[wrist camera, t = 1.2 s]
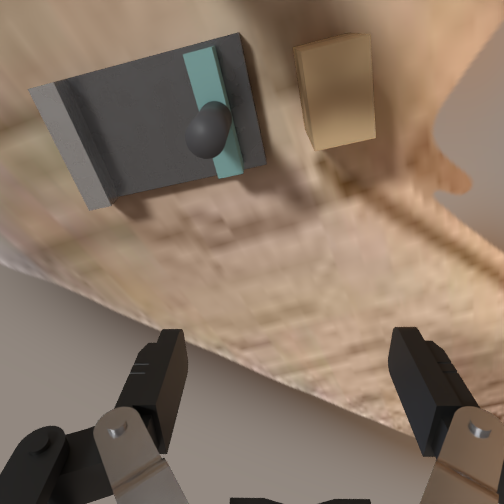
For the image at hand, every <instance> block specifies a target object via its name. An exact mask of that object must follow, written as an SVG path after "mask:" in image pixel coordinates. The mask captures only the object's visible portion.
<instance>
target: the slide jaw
mask: <svg viewBox="0 0 504 504" xmlns="http://www.w3.org/2000/svg"><path fill="white" fill-rule="evenodd" d="M183 58H184V61H185V65H186V68H187V71H188V75H189V78H190V82H191V85H192V89H193V92H194V96H195V99H196V103H197V106H198V109H199V112H198V113H197V115H196V116H195V117H194V119H193V120H192V121H191V123H190V124H189V125H188V127H187V129H186V132H185V141H186V145H187V147H188V149H189V150H190V151H191V152H192V153H193V154H194V155H195V156H197V157H199V158H203V159H211V158H213V161H214V165H215V168H216V172H217V175H218V179H220V178H225V177H229V176H234V175H239V174H243V172H244V162H243V158H242V154H241V150H240V146H239V142H238V138H237V134H236V130H235V125H234V121H233V117H232V113H231V109H230V105H229V101H228V97H227V93H226V89H225V85H224V81H223V77H222V73H221V69H220V65H219V60H218V56H217V52H216V48H215V46H212V47H208V48H204V49H201V50H197V51H193V52H189V53H186V54H183Z"/></svg>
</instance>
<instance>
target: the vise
mask: <svg viewBox="0 0 504 504" xmlns="http://www.w3.org/2000/svg"><path fill="white" fill-rule="evenodd" d="M212 46H215V48H216V52H217V56H218V60H219V65H220V69H221V73H222V77H223V81H224V85H225V89H226V93H227V97H228V101H229V105H230V109H231V113H232V117H233V121H234V125H235V130H236V134H237V138H238V142H239V146H240V150H241V154H242V158H243V162H244V169H247V168H252V167H257V166H261V165H266V164H267V161H266V156H265V151H264V146H263V141H262V137H261V132H260V127H259V123H258V118H257V113H256V108H255V104H254V99H253V94H252V90H251V85H250V80H249V75H248V71H247V66H246V61H245V57H244V52H243V47H242V42H241V38H240V33H239V32H238V33H235V34H231V35H227V36H224V37H220V38H216V39H212V40H209V41H205V42H201V43H198V44H194V45H190V46H187V47H183V48H179V49H175V50H172V51H168V52H164V53H161V54H157V55H153V56H149V57H146V58H142V59H138V60H135V61H131V62H127V63H124V64H120V65H116V66H112V67H109V68H105V69H101V70H98V71H94V72H90V73H87V74H83V75H79V76H75V77H72V78H68V79H64V80H60V81H56V82H53V83H49V84H45V85H41V86H38V87H34V88H30V89H28V91H29V93H30V95H31V97H32V99H33V101H34V102H35V104H36V106H37V108H38V110H39V112H40V114H41V116H42V118H43V120H44V122H45V124H46V126H47V128H48V130H49V132H50V134H51V136H52V138H53V140H54V142H55V144H56V146H57V148H58V150H59V152H60V154H61V156H62V158H63V160H64V162H65V164H66V166H67V168H68V170H69V172H70V174H71V176H72V178H73V180H74V181H75V183H76V185H77V187H78V189H79V191H80V193H81V195H82V197H83V199H84V201H85V203H86V205H87V207H88V209H89V211H90V210H94V209H99V208H104V207H108V206H112V204H113V203H114V202H115V201H116V200H117V199H118V197H119V196H124V195H128V194H133V193H137V192H142V191H147V190H151V189H156V188H160V187H165V186H169V185H174V184H179V183H183V182H188V181H192V180H197V179H202V178H206V177H211V176H215V175H217V172H216V168H215V165H214V161H213V158H211V159H203V158H199V157H197V156H195V155H194V154H193V153H192V152H191V151H190V150H189V149H188V147H187V145H186V141H185V132H186V129H187V127H188V125H189V124H190V123H191V121H192V120H193V119H194V117H195V116H196V115H197V113H198V112H199V109H198V106H197V103H196V99H195V96H194V92H193V89H192V85H191V82H190V78H189V75H188V71H187V68H186V65H185V61H184V58H183V54H186V53H189V52H193V51H197V50H201V49H204V48H208V47H212Z"/></svg>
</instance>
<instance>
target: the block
mask: <svg viewBox="0 0 504 504" xmlns="http://www.w3.org/2000/svg"><path fill="white" fill-rule="evenodd" d="M293 53H294V59H295V66H296V73H297V79H298V86H299V93H300V99H301V106H302V113H303V119H304V126H305V130H306V133H307V135H308V137H309V139H310V141H311V144H312V146H313V148H314V150H315V151H319V150H324V149H328V148H333V147H337V146H342V145H347V144H351V143H356V142H360V141H365V140H369V139H374V138H376V131H375V112H374V93H373V74H372V55H371V35H370V34H356V33H346V34H342V35H339V36H335V37H331V38H327V39H323V40H319V41H315V42H312V43H308V44H304V45H300V46H296V47H293Z"/></svg>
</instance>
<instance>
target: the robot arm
mask: <svg viewBox="0 0 504 504" xmlns="http://www.w3.org/2000/svg"><path fill="white" fill-rule="evenodd" d="M388 367H389V372H390V376H391V378H392V381H393V383H394V386H395V388H396V391H397V393H398V396H399V398H400V401H401V403H402V405H403V408H404V410H405V413H406V415H407V418H408V420H409V423H410V425H411V428H412V430H413V433H414V435H415V438H416V440H417V443H418V445H419V448H420V450H421V453H422V455H423V457H436V462H435V465H434V467H433V470H432V472H431V475H430V478H429V481H428V483H427V486H426V488H425V491H424V494H423V496H422V499H421V502H420V504H498V503H499V504H504V424H503V423H502V422H501V421H500V420H499V419H498V418H497V417H496V416H494V415H493V414H491V413H490V412H488V411H486V410H483V409H481V408H480V407H479V406H478V404H477V402H476V401H475V399H474V398H473V396H472V394H471V393H470V391H469V390H468V388H467V386H466V385H465V383H464V382H463V380H462V378H461V377H460V375H459V374H458V373H457V370H456V369H455V367H454V366H453V364H451V361H450V359H449V358H448V356H447V354H446V353H445V351H444V350H443V349H442V348H440V347H439V346H438V345H437V344H436V343H434V342H433V341H425V340H424V339H423V337H422V335H421V334H420V332H419V330H418V329H417V328H416V327H395V328H394V329H393V333H392V339H391V345H390V350H389V356H388ZM187 373H188V357H187V351H186V344H185V338H184V332H183V330H182V329H163V330H162V331H161V333H160V336H159V339H158V341H157V343H148V344H147V345H146V346H145V347H144V348H143V349H142V350H141V351H140V352H139V354H138V356H137V358H136V360H135V363H134V365H133V367H132V369H131V372H130V374H129V376H128V378H127V381H126V383H125V385H124V387H123V390H122V392H121V394H120V396H119V399H118V401H117V403H116V406H115V408H114V409H112V410H110V411H109V412H107V413H106V414H104V415H103V416H102V417H101V418H100V419H99V420H98V422H97V423H96V425H95V426H93V427H91V428H88V429H85V430H81V431H78V432H74V433H71V434H67V435H65V433H64V431H63V430H62V429H61V428H59V427H57V426H46V427H42V428H40V429H37V430H35V431H33V432H32V433H30V434H29V435H27V436H26V437H25V438H24V439H23V440H22V441H21V442H20V443H19V444H18V446H17V447H16V449H15V450H14V452H13V454H12V456H11V457H10V459H9V461H8V462H7V464H6V466H5V467H4V469H3V471H2V472H1V474H0V504H87V503H90V502H93V501H96V500H99V499H101V498H105V497H108V496H111V495H114V496H115V499H116V502H117V504H189V503H188V501H187V499H186V497H185V495H184V493H183V491H182V490H181V487H180V485H179V484H178V482H177V480H176V478H175V476H174V474H173V472H172V470H171V468H170V466H169V465H168V463H167V461H166V460H165V458H163V459H162V458H161V456H160V454H167V452H168V448H169V444H170V440H171V436H172V432H173V429H174V424H175V420H176V417H177V413H178V409H179V405H180V401H181V397H182V393H183V389H184V385H185V381H186V377H187ZM230 504H282V503H279V502H275V501H272V500H269V499H265V498H230ZM319 504H371V502H370V499H333V500H330V501H326V502H322V503H319Z"/></svg>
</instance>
